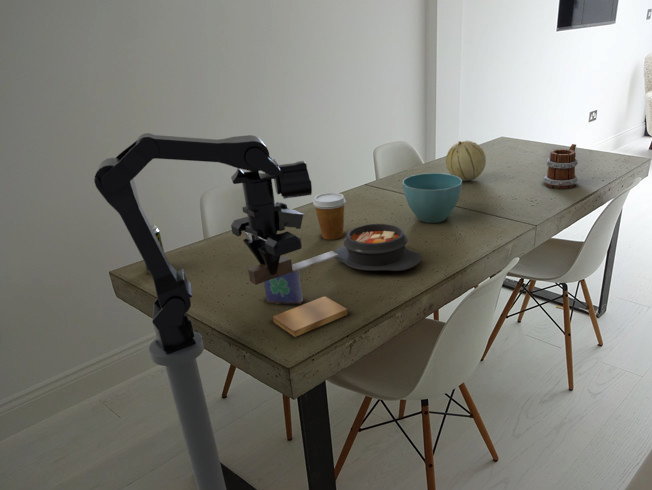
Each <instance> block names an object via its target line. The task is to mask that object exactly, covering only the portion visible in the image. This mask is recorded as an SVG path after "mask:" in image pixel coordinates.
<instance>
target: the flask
mask: <svg viewBox="0 0 652 490" xmlns="http://www.w3.org/2000/svg"><path fill="white" fill-rule="evenodd" d="M300 277H301V276H300V270H298V271H295V272H291V273H288V274H285V275H282V276H279V277H277V278H274V279H271V280H268V281H265V282H263V284H264V291H265V297H266V302H267V303H271V304H277V305H288V306H289V305H291V306H296V305H302V303H303V301H304V299H303V292H302V284H301V278H300Z"/></svg>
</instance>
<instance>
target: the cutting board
mask: <svg viewBox="0 0 652 490" xmlns="http://www.w3.org/2000/svg"><path fill="white" fill-rule="evenodd" d="M348 312H349V311H348V308H347V307H344V306H343V305H341V304H339V303H338V302H336V301H334V300H332V299H331V298H329V297H327V296H326V295H324V296H321V297H319V298H316V299H313V300H311V301H309V302H306V303H303V304H300V305H299V306H296V307H293V308H290V309H288V310H286V311H282V312H281V313H278V314H276V315H275V314H274V315H273V316H272V320H273V324H275V325H277V326H278V327H280V328H281V329H282V330H284V331H286V332H287V333H289V334H290V335H291V336H293V337H295V338H297V337H298V336H301V335H303V334H306V333H308V332H310V331H312V330H315V329H317V328H320V327H322V326H324V325H326V324H329V323H332V322H334V321H337V320H339V319H341V318H343V317H345V316H348V315H349V313H348Z"/></svg>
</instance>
